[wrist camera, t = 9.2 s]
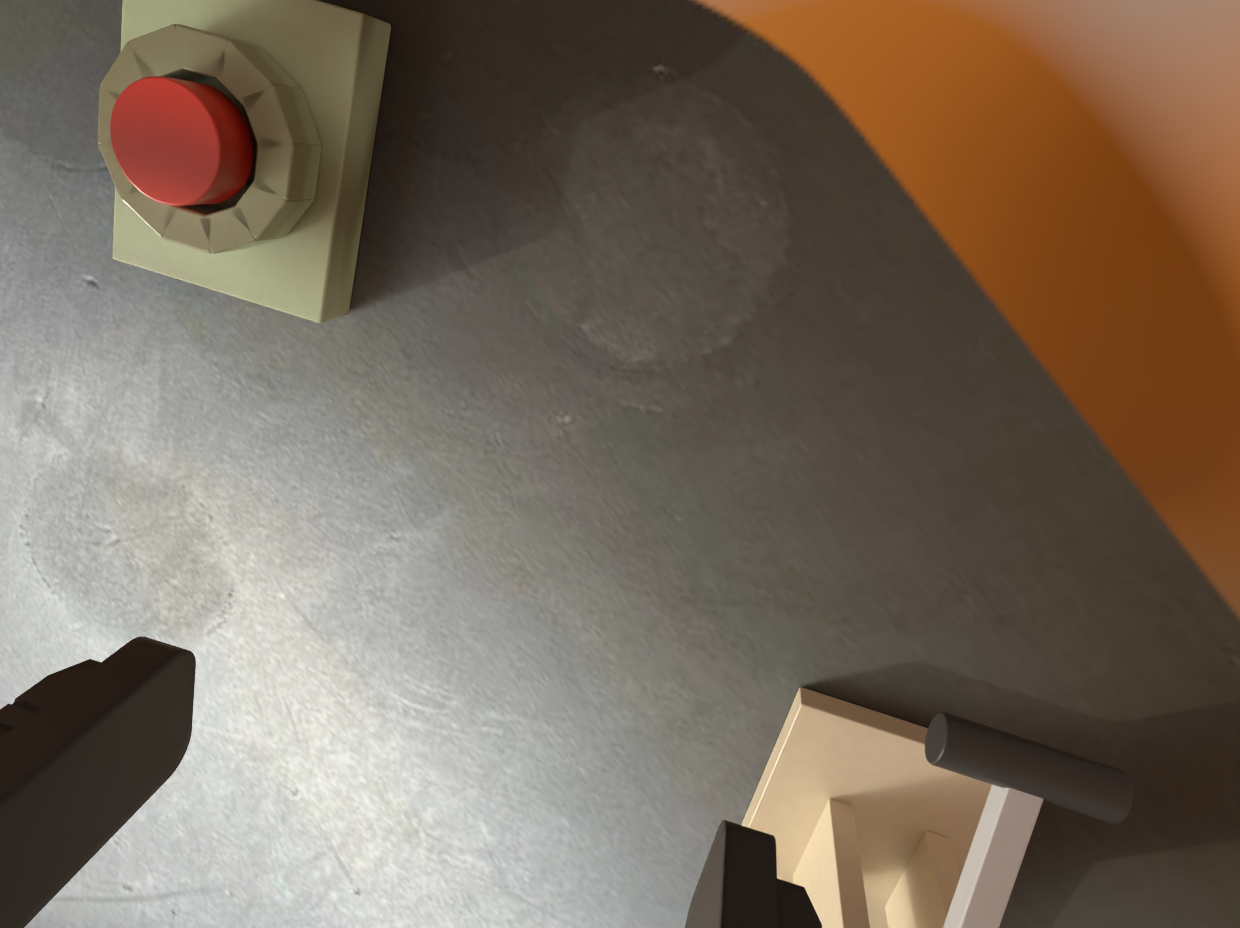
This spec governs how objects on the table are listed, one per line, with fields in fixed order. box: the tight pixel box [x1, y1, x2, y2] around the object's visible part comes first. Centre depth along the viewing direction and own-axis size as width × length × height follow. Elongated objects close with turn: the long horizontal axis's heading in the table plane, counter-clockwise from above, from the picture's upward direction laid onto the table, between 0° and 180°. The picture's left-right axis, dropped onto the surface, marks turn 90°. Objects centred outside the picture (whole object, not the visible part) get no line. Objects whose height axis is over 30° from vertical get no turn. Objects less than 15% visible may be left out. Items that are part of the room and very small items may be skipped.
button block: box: [98, 0, 391, 323], centre depth 28 cm, size 10×8×4 cm
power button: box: [110, 76, 254, 206], centre depth 25 cm, size 4×4×2 cm
